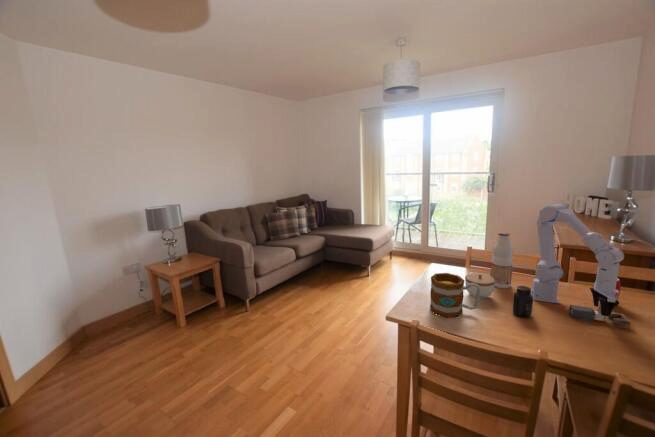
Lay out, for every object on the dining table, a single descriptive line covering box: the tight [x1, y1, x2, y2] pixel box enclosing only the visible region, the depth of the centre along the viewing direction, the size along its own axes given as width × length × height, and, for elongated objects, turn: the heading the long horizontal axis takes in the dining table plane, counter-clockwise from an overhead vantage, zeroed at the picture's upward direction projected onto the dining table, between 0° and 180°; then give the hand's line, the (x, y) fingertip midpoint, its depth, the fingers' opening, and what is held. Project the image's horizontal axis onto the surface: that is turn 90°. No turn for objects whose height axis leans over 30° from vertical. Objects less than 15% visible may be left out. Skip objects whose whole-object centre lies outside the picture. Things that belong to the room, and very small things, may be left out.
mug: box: [429, 272, 480, 319], centre depth 125 cm, size 20×14×15 cm
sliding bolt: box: [571, 301, 607, 322], centre depth 116 cm, size 10×3×8 cm, turn 63°
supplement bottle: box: [512, 285, 534, 319], centre depth 120 cm, size 7×7×12 cm
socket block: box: [606, 311, 632, 329], centre depth 112 cm, size 4×6×3 cm
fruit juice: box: [489, 231, 515, 289], centre depth 147 cm, size 9×9×28 cm
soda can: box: [615, 277, 622, 301], centre depth 126 cm, size 7×7×12 cm
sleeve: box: [568, 304, 596, 323], centre depth 117 cm, size 7×4×4 cm, turn 63°
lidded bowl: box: [464, 272, 495, 300], centre depth 138 cm, size 13×13×11 cm
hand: (601, 310), depth 114 cm, fingers open, 7 cm apart
